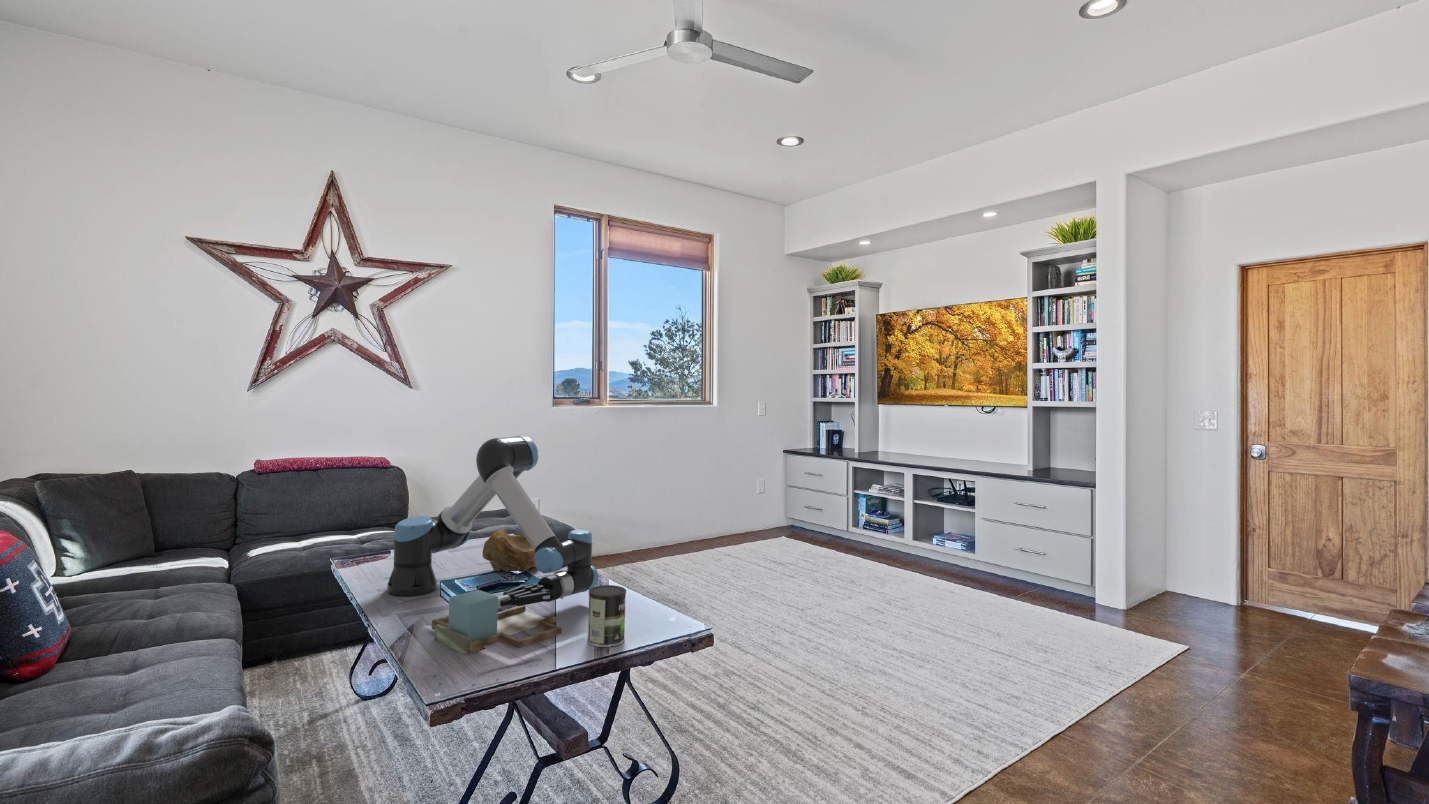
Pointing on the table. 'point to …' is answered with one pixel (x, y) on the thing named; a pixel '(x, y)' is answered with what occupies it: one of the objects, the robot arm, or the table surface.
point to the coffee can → (606, 615)
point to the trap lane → (498, 631)
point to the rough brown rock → (509, 552)
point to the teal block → (474, 614)
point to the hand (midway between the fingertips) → (488, 605)
